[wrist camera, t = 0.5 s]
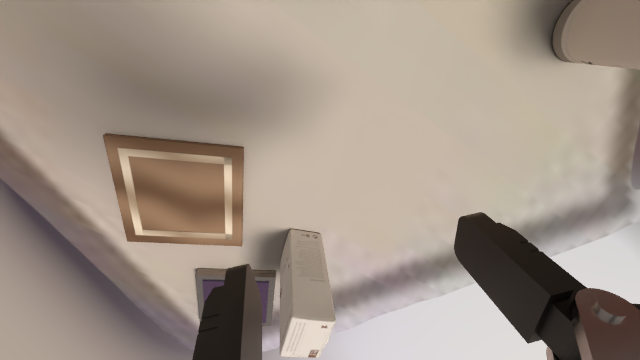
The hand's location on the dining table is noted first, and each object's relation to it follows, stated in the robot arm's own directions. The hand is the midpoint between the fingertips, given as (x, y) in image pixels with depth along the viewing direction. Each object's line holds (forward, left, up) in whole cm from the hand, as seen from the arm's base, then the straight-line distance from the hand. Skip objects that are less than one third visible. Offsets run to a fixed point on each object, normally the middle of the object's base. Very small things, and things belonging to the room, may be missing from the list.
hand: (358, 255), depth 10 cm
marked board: (+11, -14, -20) cm, 26 cm away
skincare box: (+18, 0, -20) cm, 27 cm away
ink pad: (+27, -8, -20) cm, 34 cm away
